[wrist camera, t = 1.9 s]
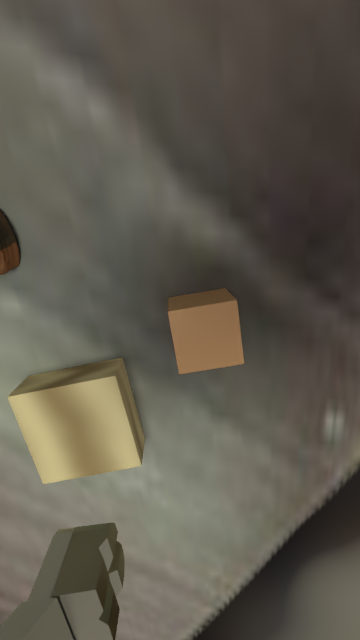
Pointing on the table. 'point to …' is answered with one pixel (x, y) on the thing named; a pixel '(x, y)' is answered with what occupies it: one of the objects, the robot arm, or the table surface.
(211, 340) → the terracotta cube
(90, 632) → the robot arm
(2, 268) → the brown rounded piece
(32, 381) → the beech block
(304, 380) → the table surface
